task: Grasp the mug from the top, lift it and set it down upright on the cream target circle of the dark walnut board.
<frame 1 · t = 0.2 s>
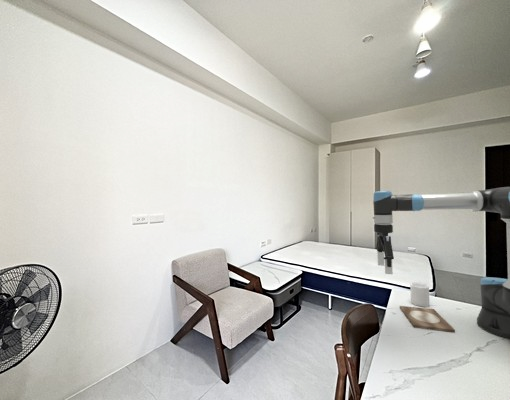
hand: (384, 269, 103), 28 cm above the table, tool pointing down, fingers open, 13 cm apart
target board: (424, 318, 111), on the table
mug: (420, 303, 128), on the table
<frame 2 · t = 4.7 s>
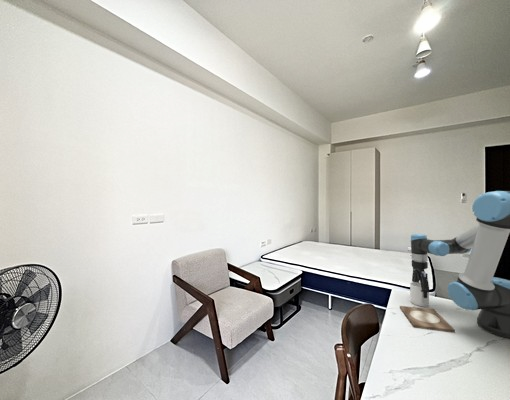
hand: (420, 299, 128), 2 cm above the table, tool pointing down, fingers closed on mug, 10 cm apart
mug: (420, 302, 129), on the table, touching gripper
when the fingers open (5 cm above the table, at t = 11.3 s): mug drops 1 cm, resting on target board.
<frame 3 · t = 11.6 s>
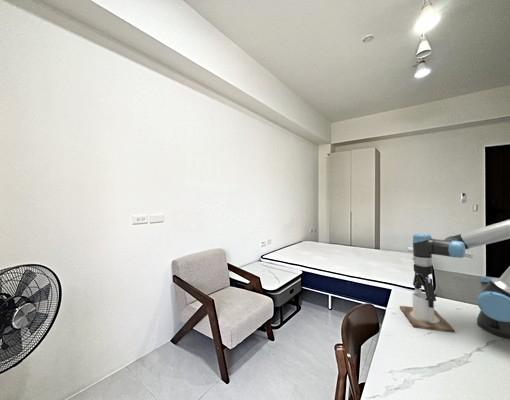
hand: (424, 307, 111), 6 cm above the table, tool pointing down, fingers open, 13 cm apart
mug: (424, 316, 111), point 1 cm above the table, touching target board
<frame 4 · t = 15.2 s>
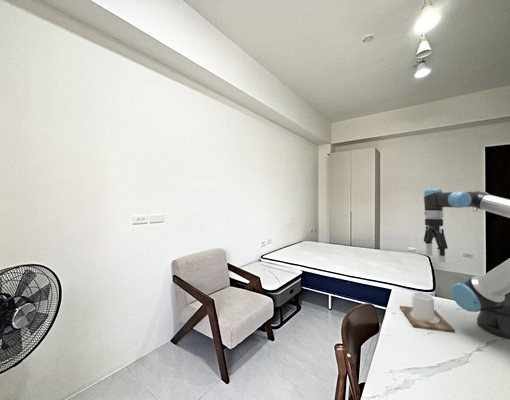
hand: (435, 258, 116), 29 cm above the table, tool pointing down, fingers open, 13 cm apart
nothing on the table moved.
at the end: mug inside the target area on the target board (0.4 cm from its centre), point 1.1 cm above the target board's base; mug tilted 0°; the gripper is holding nothing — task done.
